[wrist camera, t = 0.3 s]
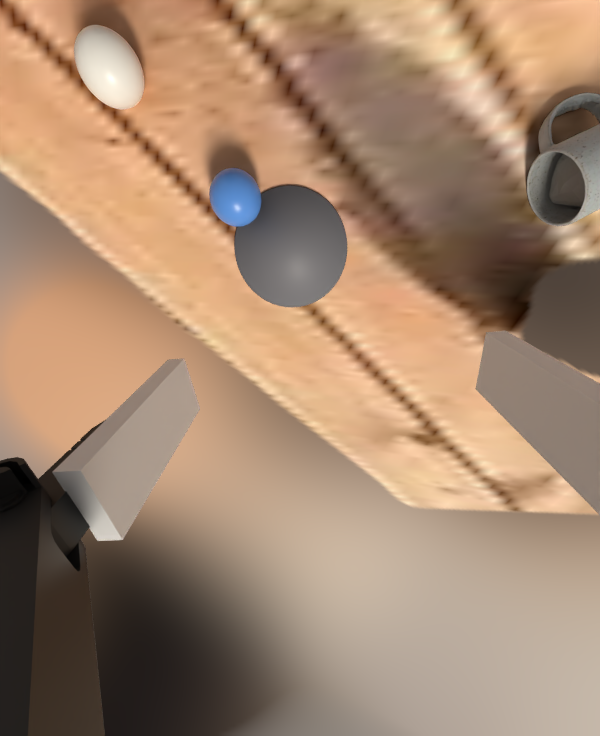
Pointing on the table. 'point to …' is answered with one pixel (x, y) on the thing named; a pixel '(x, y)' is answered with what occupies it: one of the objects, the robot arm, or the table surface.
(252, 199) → the blue ball
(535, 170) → the ceramic mug
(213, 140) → the table surface
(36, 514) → the robot arm
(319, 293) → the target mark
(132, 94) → the white ball
